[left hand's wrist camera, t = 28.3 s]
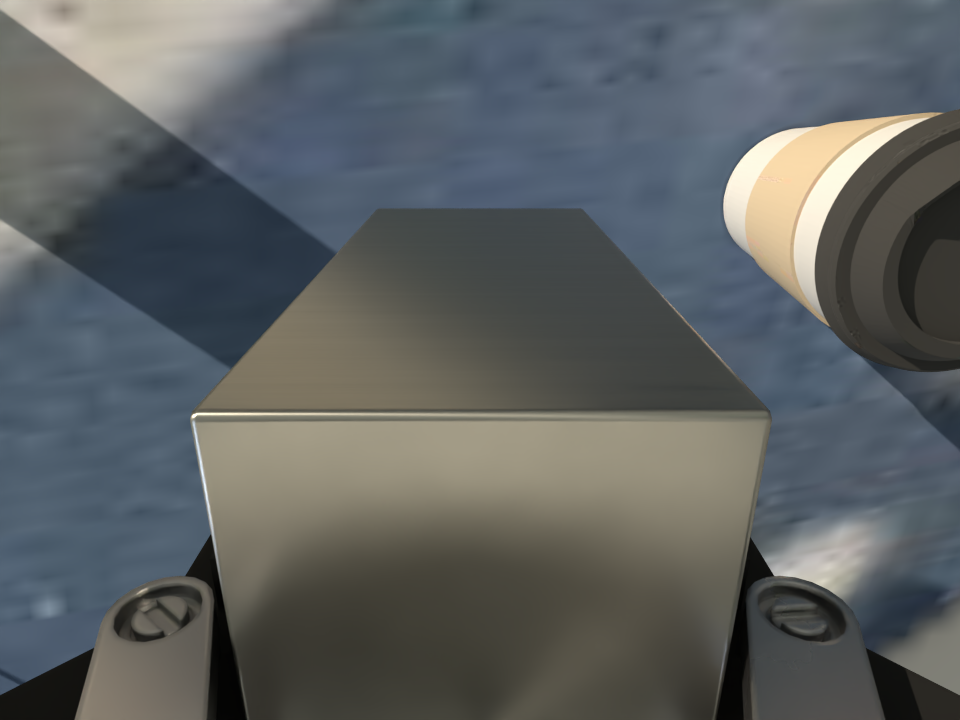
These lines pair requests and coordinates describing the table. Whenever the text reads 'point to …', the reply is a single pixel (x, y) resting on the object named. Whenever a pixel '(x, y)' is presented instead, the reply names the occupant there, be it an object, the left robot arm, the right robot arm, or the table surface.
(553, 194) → the table surface
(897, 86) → the table surface
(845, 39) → the table surface
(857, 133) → the coffee cup
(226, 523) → the brick
